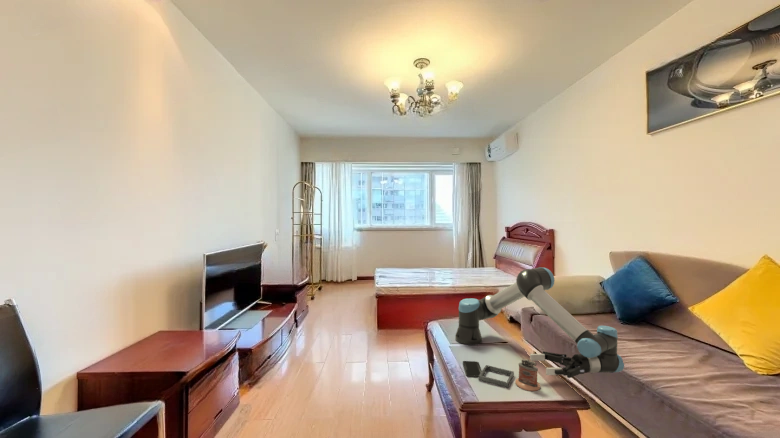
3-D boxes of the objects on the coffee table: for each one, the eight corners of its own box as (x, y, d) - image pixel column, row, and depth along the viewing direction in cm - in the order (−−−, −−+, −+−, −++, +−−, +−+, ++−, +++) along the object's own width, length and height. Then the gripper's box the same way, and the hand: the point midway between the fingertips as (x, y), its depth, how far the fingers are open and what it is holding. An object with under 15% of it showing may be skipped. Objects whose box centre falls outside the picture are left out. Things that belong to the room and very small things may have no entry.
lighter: (516, 381, 146) (517, 358, 146) (520, 378, 149) (520, 356, 149) (535, 388, 141) (536, 364, 141) (538, 385, 143) (539, 362, 143)
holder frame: (486, 369, 159) (486, 364, 159) (513, 376, 153) (513, 371, 153) (478, 380, 148) (478, 375, 148) (508, 388, 142) (508, 383, 142)
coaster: (517, 377, 152) (517, 375, 152) (541, 383, 146) (541, 381, 146) (513, 386, 143) (513, 385, 143) (538, 393, 138) (538, 391, 138)
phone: (478, 361, 166) (483, 376, 151) (478, 363, 166) (483, 378, 151) (462, 360, 166) (466, 375, 151) (462, 363, 166) (466, 377, 151)
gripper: (605, 386, 133) (553, 387, 132) (568, 359, 158) (524, 360, 157) (605, 367, 133) (554, 368, 132) (568, 343, 158) (524, 344, 157)
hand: (537, 364), depth 144 cm, fingers open, 13 cm apart
